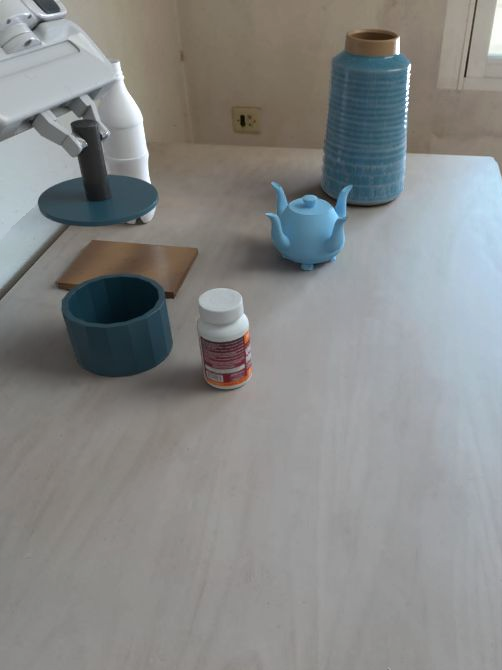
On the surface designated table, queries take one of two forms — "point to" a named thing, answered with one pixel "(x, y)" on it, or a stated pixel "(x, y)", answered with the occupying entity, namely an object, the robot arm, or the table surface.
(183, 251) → the mat
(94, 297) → the pot
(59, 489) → the table surface
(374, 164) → the vase
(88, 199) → the lid
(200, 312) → the pill bottle
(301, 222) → the teapot
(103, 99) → the water bottle
